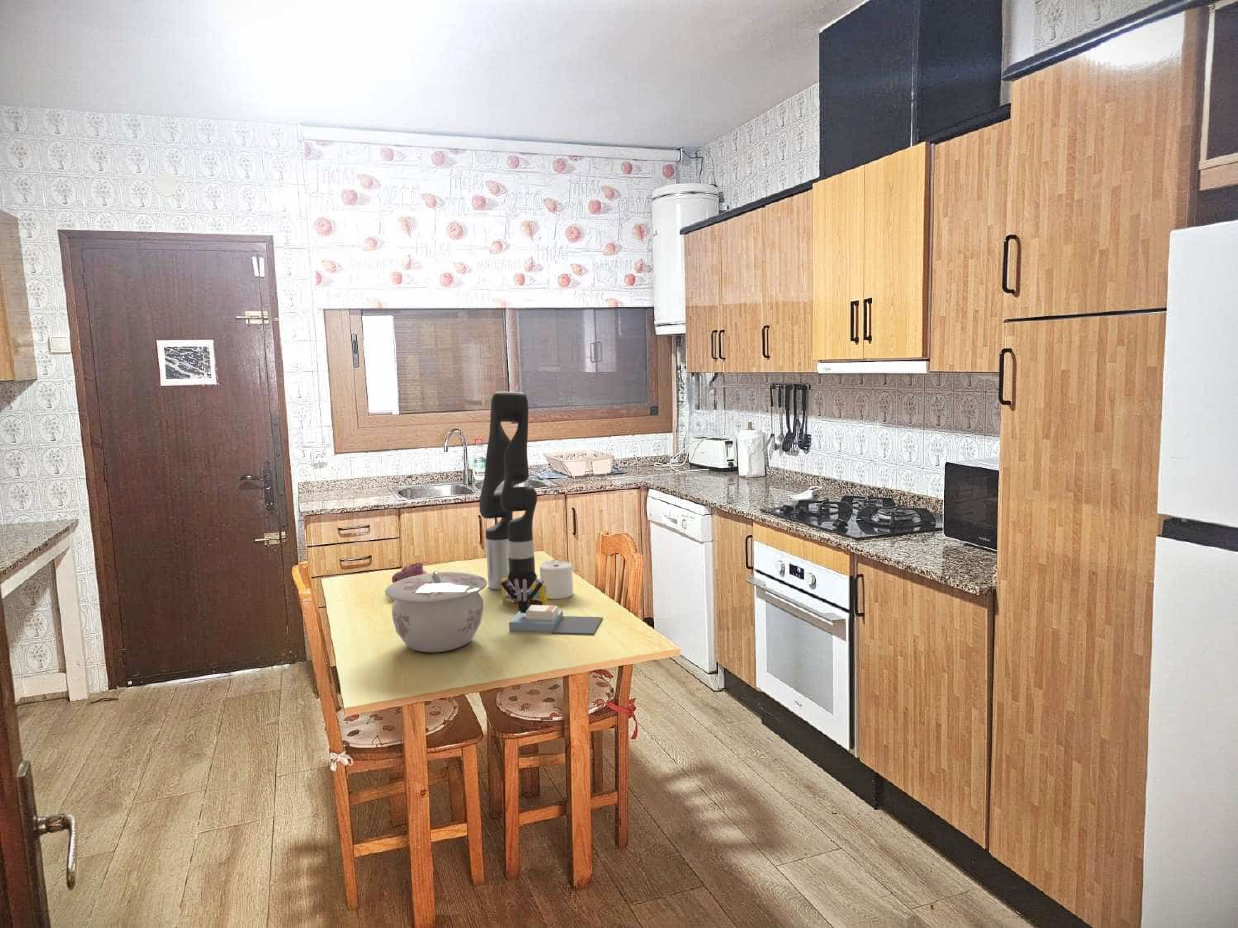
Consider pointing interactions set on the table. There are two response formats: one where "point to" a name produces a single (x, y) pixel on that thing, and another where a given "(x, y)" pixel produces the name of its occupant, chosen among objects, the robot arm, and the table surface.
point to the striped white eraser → (542, 612)
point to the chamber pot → (437, 610)
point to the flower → (409, 572)
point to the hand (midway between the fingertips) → (523, 612)
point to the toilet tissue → (557, 579)
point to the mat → (577, 625)
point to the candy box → (536, 600)
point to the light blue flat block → (533, 623)
